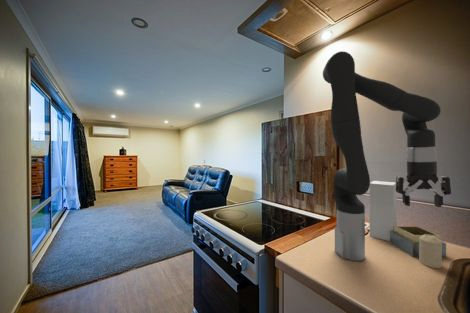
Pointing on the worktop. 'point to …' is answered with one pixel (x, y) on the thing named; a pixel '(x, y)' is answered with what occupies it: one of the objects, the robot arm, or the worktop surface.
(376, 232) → the tall white carton
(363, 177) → the robot arm
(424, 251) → the candle
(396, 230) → the grey open box
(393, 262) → the worktop surface
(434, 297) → the worktop surface
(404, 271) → the worktop surface
